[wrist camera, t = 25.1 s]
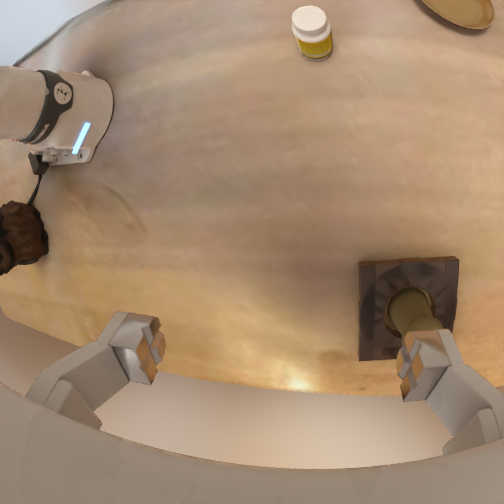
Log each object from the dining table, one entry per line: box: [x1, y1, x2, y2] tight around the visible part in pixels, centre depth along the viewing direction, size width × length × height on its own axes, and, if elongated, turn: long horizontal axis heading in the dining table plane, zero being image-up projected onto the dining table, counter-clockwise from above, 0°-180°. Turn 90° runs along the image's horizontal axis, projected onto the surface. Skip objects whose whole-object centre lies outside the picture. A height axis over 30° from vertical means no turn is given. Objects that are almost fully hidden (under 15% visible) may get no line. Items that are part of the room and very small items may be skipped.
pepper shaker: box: [388, 287, 443, 346], centre depth 32 cm, size 6×6×11 cm
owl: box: [0, 201, 49, 276], centre depth 45 cm, size 13×13×20 cm
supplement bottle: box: [292, 6, 333, 61], centre depth 29 cm, size 5×5×8 cm
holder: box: [359, 256, 459, 361], centre depth 36 cm, size 14×14×2 cm
